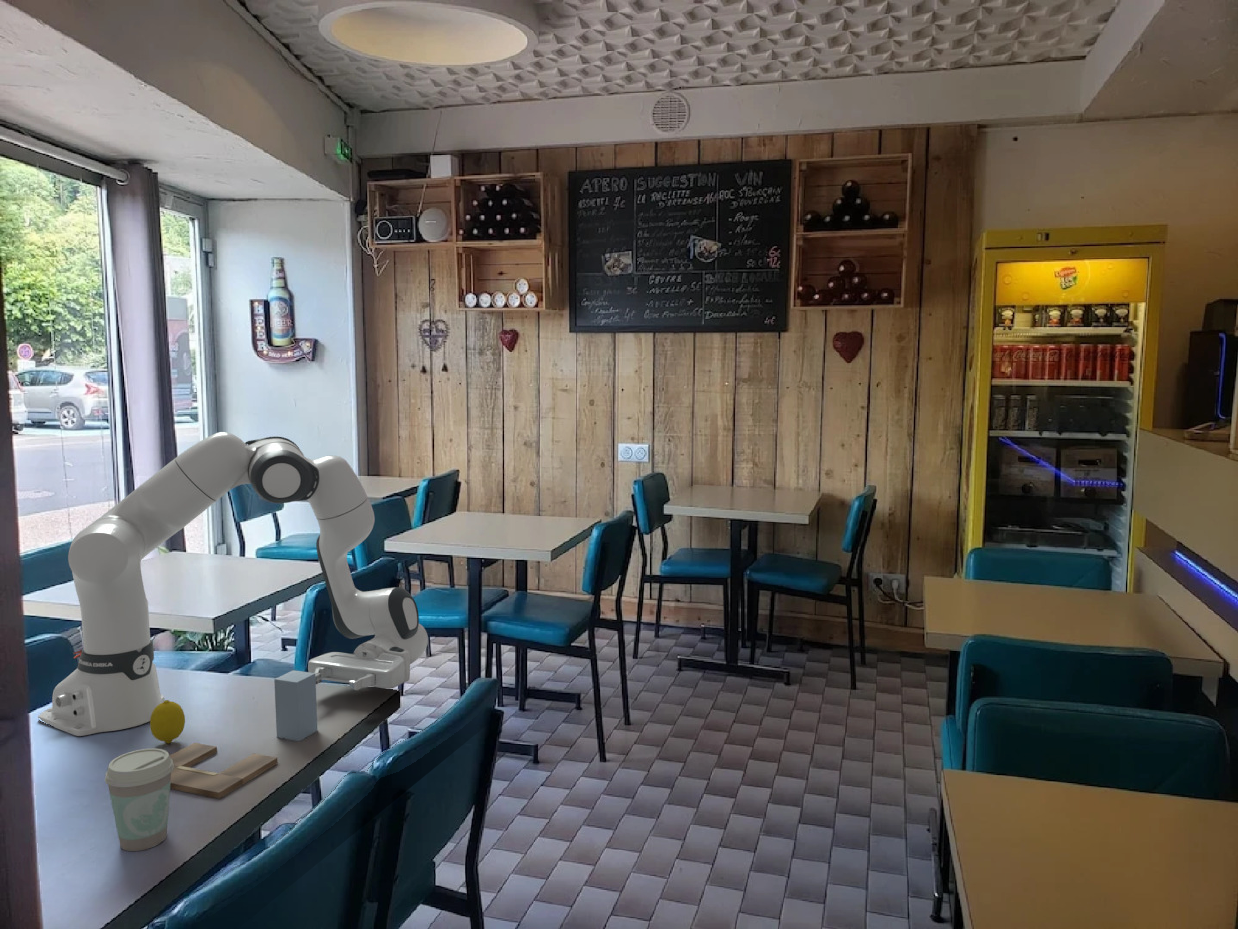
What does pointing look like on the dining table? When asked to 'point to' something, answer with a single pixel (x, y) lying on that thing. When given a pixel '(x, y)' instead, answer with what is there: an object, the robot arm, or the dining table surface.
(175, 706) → the lemon
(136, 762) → the coffee cup
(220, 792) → the wooden u-shaped frame
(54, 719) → the robot arm
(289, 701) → the blue-grey rectangular block
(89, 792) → the dining table surface
